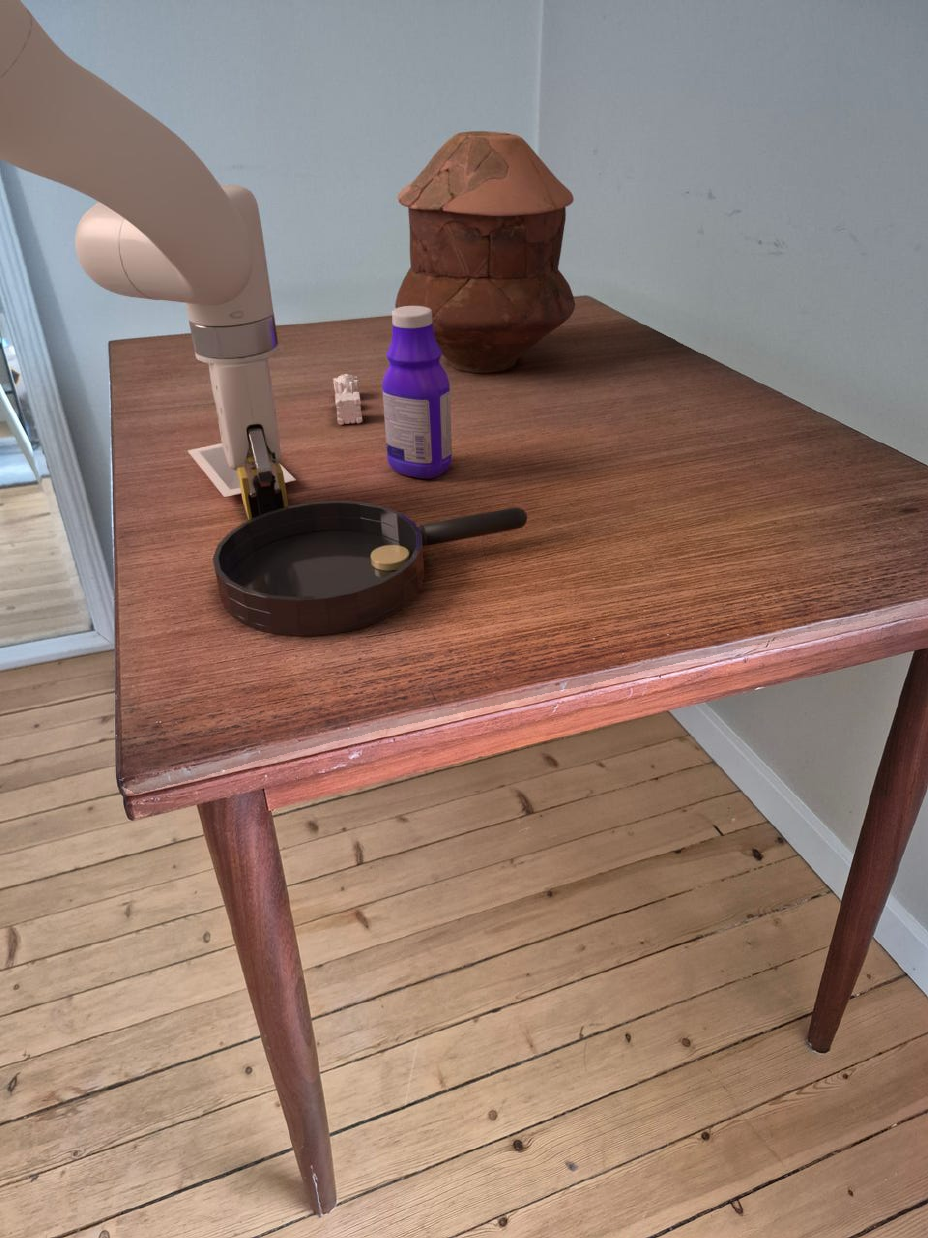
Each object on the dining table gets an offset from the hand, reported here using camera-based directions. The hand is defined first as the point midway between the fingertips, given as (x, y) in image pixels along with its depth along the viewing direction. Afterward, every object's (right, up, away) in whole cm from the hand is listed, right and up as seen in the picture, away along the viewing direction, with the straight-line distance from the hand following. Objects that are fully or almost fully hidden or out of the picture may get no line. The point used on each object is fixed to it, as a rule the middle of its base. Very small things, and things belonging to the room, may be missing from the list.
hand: (264, 511), depth 91 cm
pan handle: (+21, -3, -8) cm, 23 cm away
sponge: (0, 0, 0) cm, 1 cm away
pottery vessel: (+23, +27, +41) cm, 54 cm away
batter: (+14, -6, -10) cm, 18 cm away
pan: (+8, -7, -11) cm, 15 cm away
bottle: (+15, +6, +9) cm, 19 cm away
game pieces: (+5, +16, +27) cm, 32 cm away
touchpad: (-5, +5, +10) cm, 12 cm away
